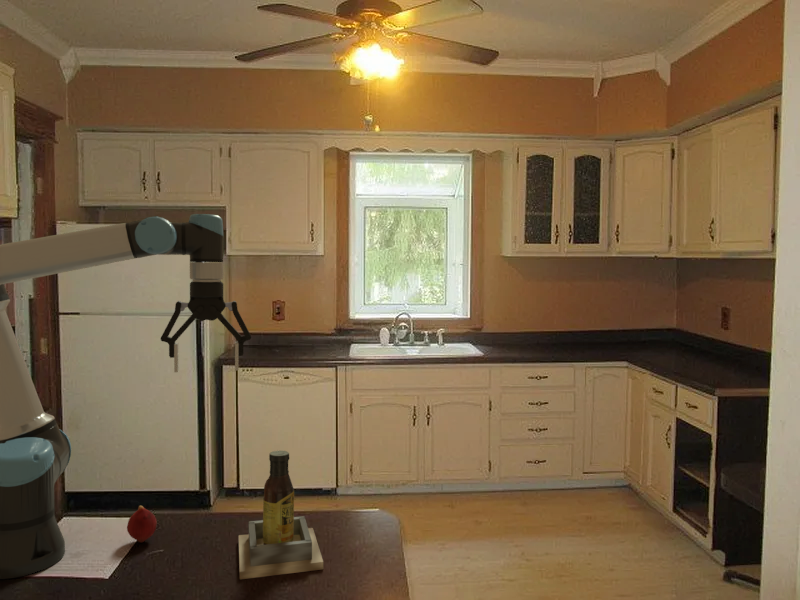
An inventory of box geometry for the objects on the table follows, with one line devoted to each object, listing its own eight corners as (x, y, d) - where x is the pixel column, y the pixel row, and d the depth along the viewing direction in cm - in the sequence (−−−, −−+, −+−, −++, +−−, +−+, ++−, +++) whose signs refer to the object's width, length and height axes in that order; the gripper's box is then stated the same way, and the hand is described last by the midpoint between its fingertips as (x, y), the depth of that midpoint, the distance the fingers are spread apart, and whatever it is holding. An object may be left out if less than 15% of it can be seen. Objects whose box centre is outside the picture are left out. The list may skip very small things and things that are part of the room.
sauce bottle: (286, 556, 121) (287, 459, 120) (257, 553, 123) (257, 457, 121) (298, 542, 128) (298, 449, 127) (270, 539, 129) (270, 447, 128)
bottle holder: (239, 579, 115) (239, 553, 115) (238, 542, 131) (238, 519, 130) (323, 569, 120) (323, 544, 119) (312, 534, 135) (312, 512, 135)
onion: (157, 534, 134) (157, 499, 133) (155, 546, 128) (155, 509, 128) (128, 537, 132) (128, 502, 131) (125, 549, 126) (125, 512, 126)
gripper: (260, 280, 149) (260, 366, 150) (151, 279, 142) (152, 369, 143) (261, 281, 142) (261, 371, 143) (147, 280, 135) (148, 375, 136)
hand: (207, 370), depth 143 cm, fingers open, 13 cm apart
